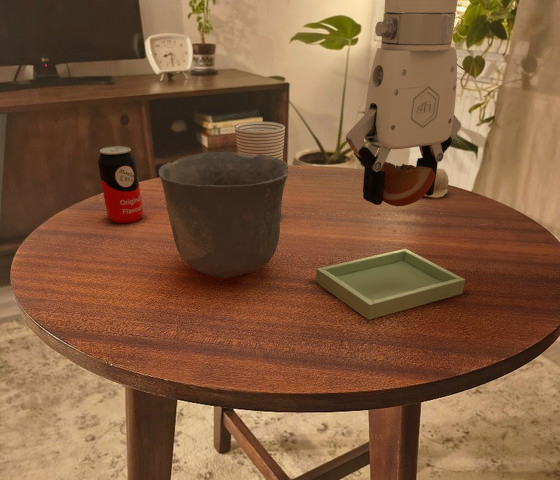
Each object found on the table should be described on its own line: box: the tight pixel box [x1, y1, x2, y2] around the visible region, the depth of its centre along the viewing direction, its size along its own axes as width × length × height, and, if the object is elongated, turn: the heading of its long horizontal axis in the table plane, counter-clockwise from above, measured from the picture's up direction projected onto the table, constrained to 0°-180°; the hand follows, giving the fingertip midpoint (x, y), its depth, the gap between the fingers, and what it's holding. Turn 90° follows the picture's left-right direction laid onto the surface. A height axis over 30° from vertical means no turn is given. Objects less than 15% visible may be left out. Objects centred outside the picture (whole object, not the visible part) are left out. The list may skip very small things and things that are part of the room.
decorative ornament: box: [423, 167, 449, 199], centre depth 112 cm, size 4×8×5 cm, turn 109°
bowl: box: [158, 151, 290, 279], centre depth 78 cm, size 18×18×15 cm
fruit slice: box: [381, 161, 435, 207], centre depth 70 cm, size 8×7×5 cm
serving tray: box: [315, 248, 466, 321], centre depth 77 cm, size 16×13×2 cm
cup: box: [234, 120, 286, 161], centre depth 98 cm, size 8×8×16 cm
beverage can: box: [97, 145, 144, 224], centre depth 99 cm, size 6×6×12 cm
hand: (398, 196), depth 71 cm, fingers closed on fruit slice, 7 cm apart
